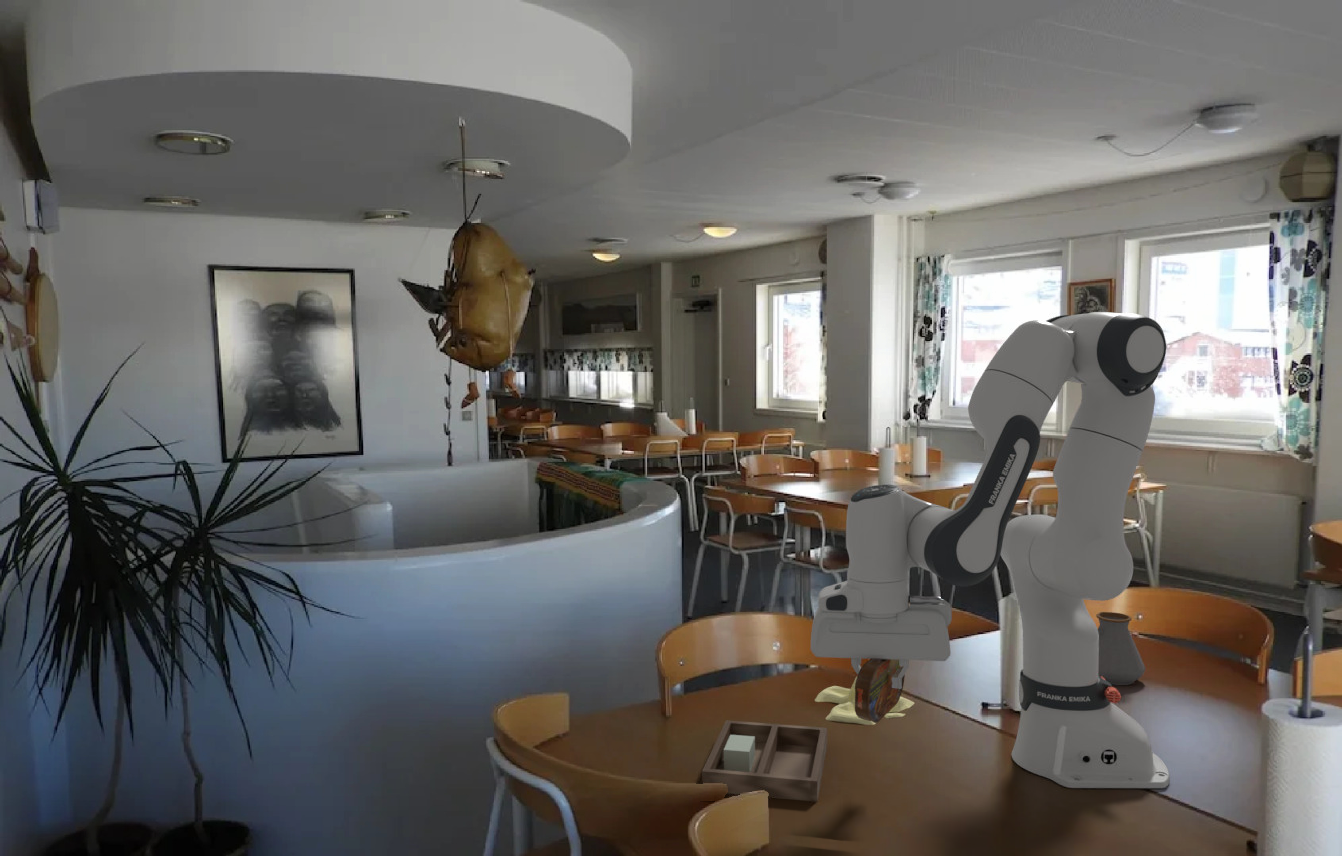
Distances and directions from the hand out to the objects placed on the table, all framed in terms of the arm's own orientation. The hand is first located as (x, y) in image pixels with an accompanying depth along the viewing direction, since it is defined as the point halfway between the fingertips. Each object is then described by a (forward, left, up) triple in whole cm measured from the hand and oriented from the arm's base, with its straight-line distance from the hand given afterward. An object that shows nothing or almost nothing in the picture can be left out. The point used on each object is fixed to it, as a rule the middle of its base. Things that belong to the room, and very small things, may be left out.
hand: (880, 686), depth 135 cm
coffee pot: (-41, -57, -16) cm, 72 cm away
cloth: (+2, -36, -17) cm, 40 cm away
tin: (+1, 0, -4) cm, 4 cm away
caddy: (+17, -3, -16) cm, 24 cm away
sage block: (+22, -3, -15) cm, 27 cm away
